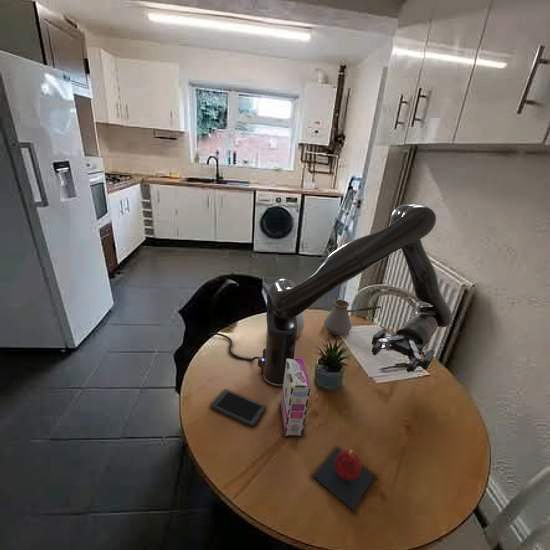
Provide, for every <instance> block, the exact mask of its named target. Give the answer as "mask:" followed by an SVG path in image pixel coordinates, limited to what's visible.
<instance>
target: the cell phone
mask: <svg viewBox="0 0 550 550" xmlns="http://www.w3.org/2000/svg"><path fill="white" fill-rule="evenodd" d="M210 407H211V408H212V409H213V410H216V411H218V412H220V413H222V414H224V415H227V416H228V417H231V418H232V419H234V420H237V421H239V422H241V423H243V424H245V425H247V426H249V427H254V426H255V425H256V424H257V422H258V421H259V419H260V418H261V416H262V415H263V414H264V411H265V410H266V407H265V406H264V405H263V404H261V403H258V402H256V401H254V400H252V399H249V398H246V397H245V396H242V395H241V394H238V393H235V392H233V391H230V390H228V389H224V390H222V391H221V393H219V395H218V396H217V397H216V398H215V400H214V401H213V402H212V403H211V404H210Z"/></svg>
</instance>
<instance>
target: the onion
mask: <svg viewBox="0 0 550 550" xmlns="http://www.w3.org/2000/svg"><path fill="white" fill-rule="evenodd" d="M340 451H341V452H339V453H338V454H337V456H336V459H335V469H336V472H337V473H338V475H339V476H340V477H341V478H342V479H344V480H346V481H351V480H355V479H356V478H357V477H358V476H359V474H360V471H361V467H362V463H361V459H360V457H359V455H358V454H357V453H356V452H355V451H354V450H353V449H343V450H340Z"/></svg>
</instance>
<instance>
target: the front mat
mask: <svg viewBox="0 0 550 550" xmlns="http://www.w3.org/2000/svg"><path fill="white" fill-rule="evenodd" d="M341 451H342V450H340V449H339V448H336V449H335V451H333V452H332V454H331V455H330V457H328V459H327V460H326V461H325V462H324V464H323V465H322V466H321V467H320V469H319V470H318V471H317V472H316V473H315V474H314V476H313V478H314V479H315V480H316V481H318V482H319V483H320V484H321V485H322V486H323V487H325V489H327V490H328V491H329V492H330V493H332V494H333V495H334V496H335V497H337V499H339V500H340V502H342V503H343V504H344V505H346V506H347V507H348V508H349V509H350V510H352V511H354V510H355V508H356V506H357V505H358V504H359V502H360V501H361V499H362V497H363V496H364V494H365V493H366V491H367V489H368V488H369V486H370V485H371V483H372V481H373V480H374V478H375V475H373V473H371V472H369V471H368V470H366V469H365V468H364V467H362V466H361V471H360V474H359V476H358V477H357V478H356V479H355V480H351V481H346V480H344V479H342V478H341V477H340V476H339V475H338V473H337V472H336V469H335V459H336V456H337V454H338V453H339V452H341Z"/></svg>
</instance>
